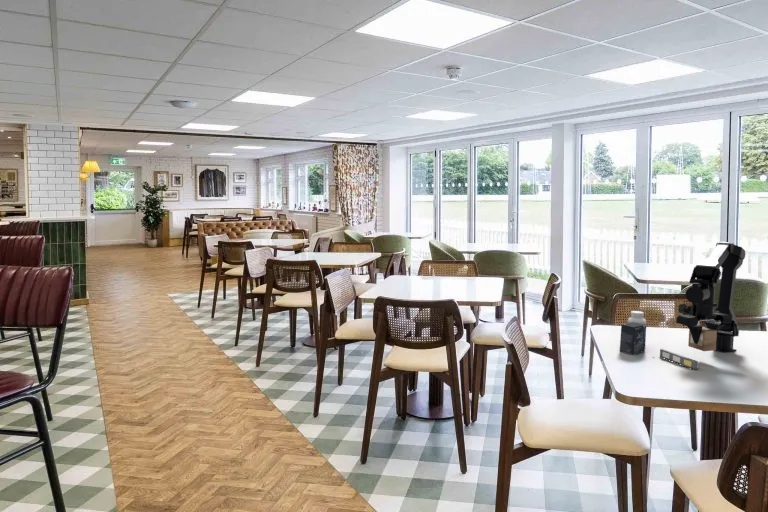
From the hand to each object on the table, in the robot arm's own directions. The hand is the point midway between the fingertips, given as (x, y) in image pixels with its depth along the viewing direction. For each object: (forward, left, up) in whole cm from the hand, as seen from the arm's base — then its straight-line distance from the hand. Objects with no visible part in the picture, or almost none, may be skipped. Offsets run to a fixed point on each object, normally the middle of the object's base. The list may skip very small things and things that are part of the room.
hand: (702, 343), depth 201 cm
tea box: (0, 0, -2) cm, 2 cm away
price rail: (+10, 0, -6) cm, 12 cm away
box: (+15, -17, -7) cm, 24 cm away
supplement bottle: (+6, -26, -7) cm, 27 cm away
